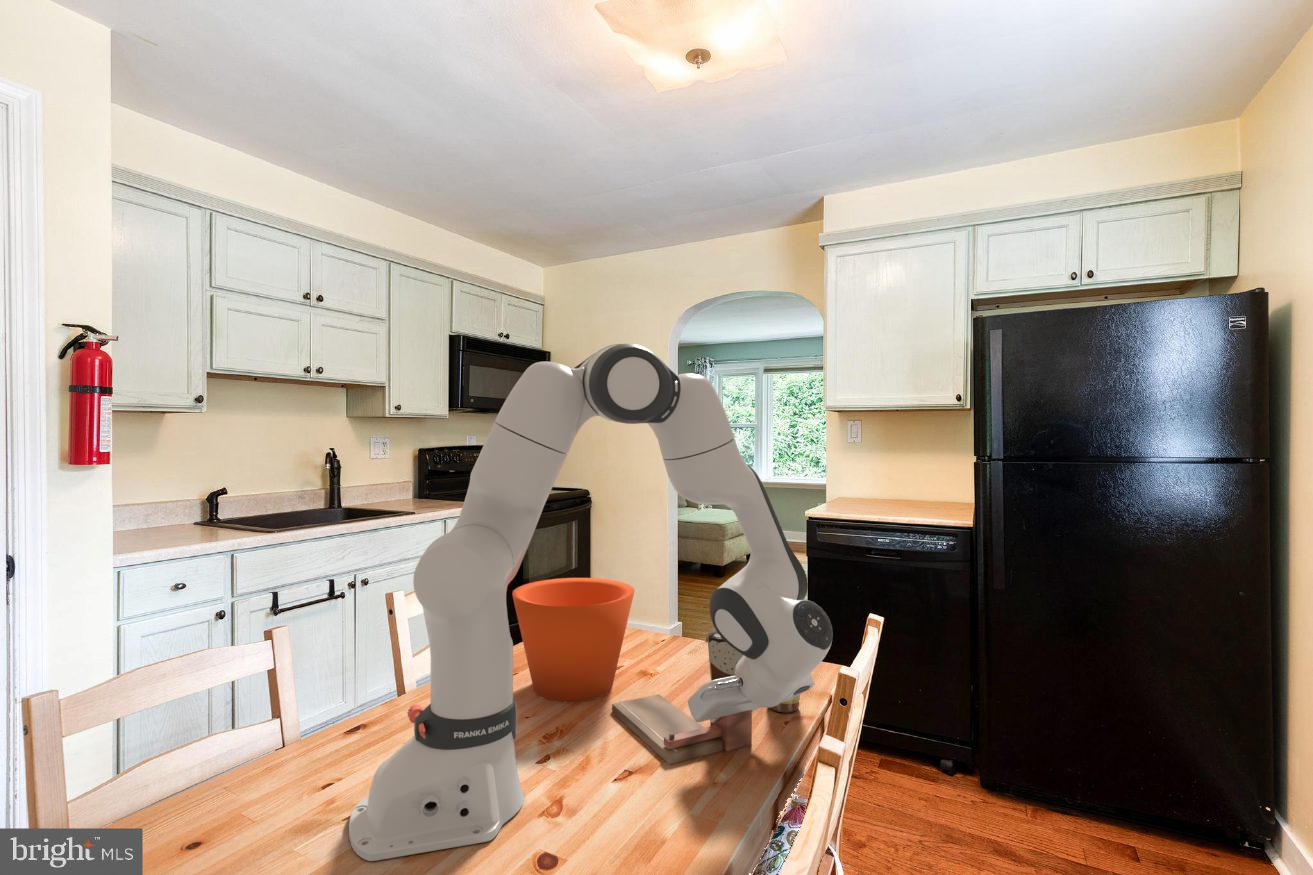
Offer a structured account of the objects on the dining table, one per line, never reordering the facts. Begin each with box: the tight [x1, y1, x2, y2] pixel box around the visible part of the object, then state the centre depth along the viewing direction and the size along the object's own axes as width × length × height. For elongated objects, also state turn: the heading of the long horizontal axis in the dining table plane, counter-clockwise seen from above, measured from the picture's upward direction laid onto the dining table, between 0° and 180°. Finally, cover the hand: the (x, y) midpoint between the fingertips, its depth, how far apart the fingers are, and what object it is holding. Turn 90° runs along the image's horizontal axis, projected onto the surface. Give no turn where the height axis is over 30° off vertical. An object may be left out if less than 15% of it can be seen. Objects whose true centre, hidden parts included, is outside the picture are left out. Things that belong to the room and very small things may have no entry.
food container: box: [704, 630, 743, 681], centre depth 136 cm, size 12×6×10 cm, turn 58°
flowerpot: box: [511, 577, 635, 704], centre depth 133 cm, size 25×25×20 cm
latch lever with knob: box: [664, 710, 753, 752], centre depth 106 cm, size 15×5×9 cm, turn 118°
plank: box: [611, 694, 724, 765], centre depth 113 cm, size 10×22×2 cm, turn 28°
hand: (728, 714), depth 109 cm, fingers closed on latch lever with knob, 5 cm apart
